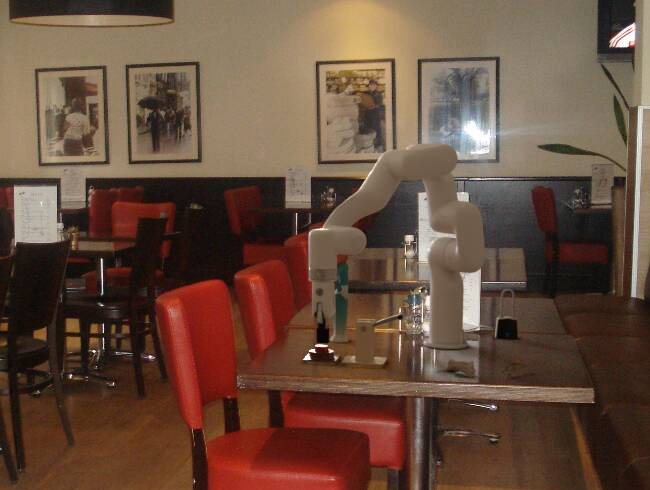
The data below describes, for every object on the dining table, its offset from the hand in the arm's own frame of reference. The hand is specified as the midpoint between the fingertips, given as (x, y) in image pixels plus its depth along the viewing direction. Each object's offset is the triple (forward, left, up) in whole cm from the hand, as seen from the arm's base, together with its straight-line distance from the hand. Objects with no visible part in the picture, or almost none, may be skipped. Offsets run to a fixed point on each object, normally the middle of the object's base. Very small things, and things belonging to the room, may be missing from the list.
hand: (322, 342), depth 281 cm
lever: (-16, 0, +5) cm, 17 cm away
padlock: (-47, -51, -5) cm, 70 cm away
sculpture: (+1, -33, -5) cm, 33 cm away
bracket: (-11, 0, -5) cm, 12 cm away
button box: (0, 0, -5) cm, 5 cm away
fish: (-50, +5, -5) cm, 51 cm away
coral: (-35, +7, -5) cm, 36 cm away
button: (0, 0, -3) cm, 3 cm away
